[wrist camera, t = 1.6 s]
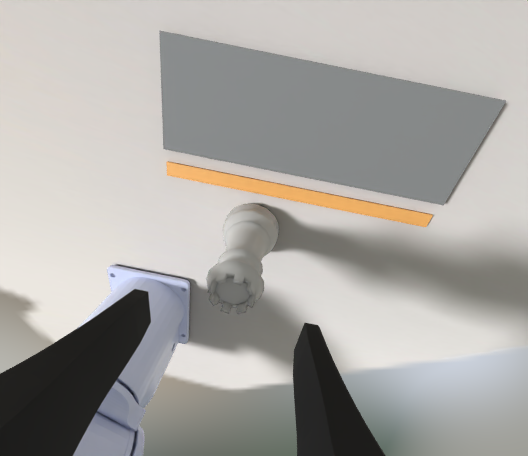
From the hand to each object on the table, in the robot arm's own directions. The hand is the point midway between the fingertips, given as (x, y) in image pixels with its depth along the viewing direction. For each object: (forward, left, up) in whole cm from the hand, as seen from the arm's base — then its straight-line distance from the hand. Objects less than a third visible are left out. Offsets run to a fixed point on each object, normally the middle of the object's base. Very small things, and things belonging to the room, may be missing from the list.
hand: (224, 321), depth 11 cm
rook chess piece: (0, 0, -10) cm, 10 cm away
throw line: (+3, -3, -10) cm, 11 cm away
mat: (+8, -3, -10) cm, 13 cm away
